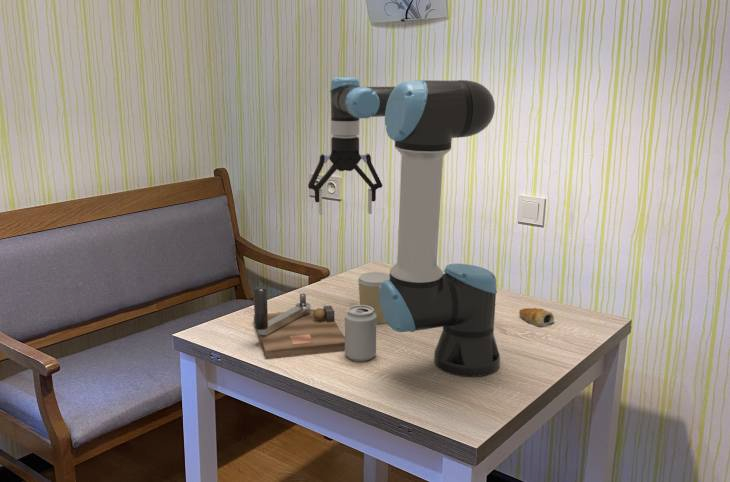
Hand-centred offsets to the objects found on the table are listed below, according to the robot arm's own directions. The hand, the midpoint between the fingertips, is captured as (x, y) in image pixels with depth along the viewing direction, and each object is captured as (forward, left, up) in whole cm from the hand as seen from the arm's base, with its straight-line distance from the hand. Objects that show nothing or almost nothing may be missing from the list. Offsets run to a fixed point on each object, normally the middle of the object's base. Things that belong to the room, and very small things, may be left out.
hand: (345, 213), depth 196 cm
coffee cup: (-13, -5, -27) cm, 30 cm away
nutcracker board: (-19, +17, -27) cm, 37 cm away
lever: (-15, +20, -24) cm, 35 cm away
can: (-35, +5, -27) cm, 45 cm away
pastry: (-25, -47, -27) cm, 60 cm away
